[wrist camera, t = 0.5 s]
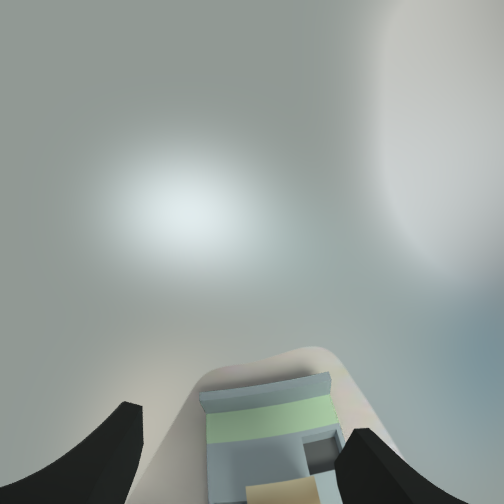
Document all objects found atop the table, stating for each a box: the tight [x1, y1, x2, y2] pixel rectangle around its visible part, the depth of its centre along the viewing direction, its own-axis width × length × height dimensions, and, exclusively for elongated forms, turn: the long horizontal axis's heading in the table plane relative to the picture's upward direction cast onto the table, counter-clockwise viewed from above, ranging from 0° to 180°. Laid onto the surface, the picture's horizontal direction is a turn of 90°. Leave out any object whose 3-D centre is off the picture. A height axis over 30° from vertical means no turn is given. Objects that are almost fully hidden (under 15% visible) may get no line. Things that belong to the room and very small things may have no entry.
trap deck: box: [199, 372, 346, 504], centre depth 18 cm, size 19×12×4 cm, turn 5°
